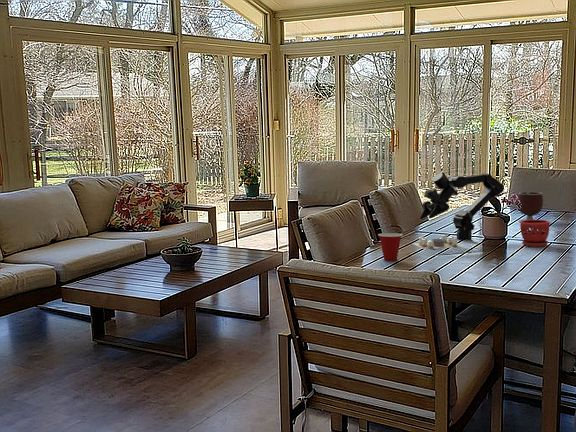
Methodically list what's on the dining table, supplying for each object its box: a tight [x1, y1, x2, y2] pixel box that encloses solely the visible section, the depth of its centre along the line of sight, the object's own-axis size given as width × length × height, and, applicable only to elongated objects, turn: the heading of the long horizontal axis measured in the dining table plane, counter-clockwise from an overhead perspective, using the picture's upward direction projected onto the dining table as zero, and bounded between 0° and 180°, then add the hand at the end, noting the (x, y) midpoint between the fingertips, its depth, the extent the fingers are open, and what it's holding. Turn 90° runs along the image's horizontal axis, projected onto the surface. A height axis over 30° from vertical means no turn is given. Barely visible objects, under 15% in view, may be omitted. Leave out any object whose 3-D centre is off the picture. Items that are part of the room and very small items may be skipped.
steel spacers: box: [418, 234, 458, 250], centre depth 312 cm, size 17×14×4 cm
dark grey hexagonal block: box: [431, 238, 445, 246], centre depth 313 cm, size 7×6×2 cm
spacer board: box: [412, 240, 463, 250], centre depth 313 cm, size 20×15×1 cm
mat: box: [434, 251, 472, 257], centre depth 301 cm, size 18×10×1 cm, turn 101°
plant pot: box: [519, 219, 550, 248], centre depth 310 cm, size 13×13×12 cm
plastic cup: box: [377, 232, 403, 262], centre depth 289 cm, size 11×11×12 cm
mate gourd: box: [517, 189, 544, 223], centre depth 375 cm, size 16×14×20 cm
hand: (424, 218), depth 314 cm, fingers open, 9 cm apart
